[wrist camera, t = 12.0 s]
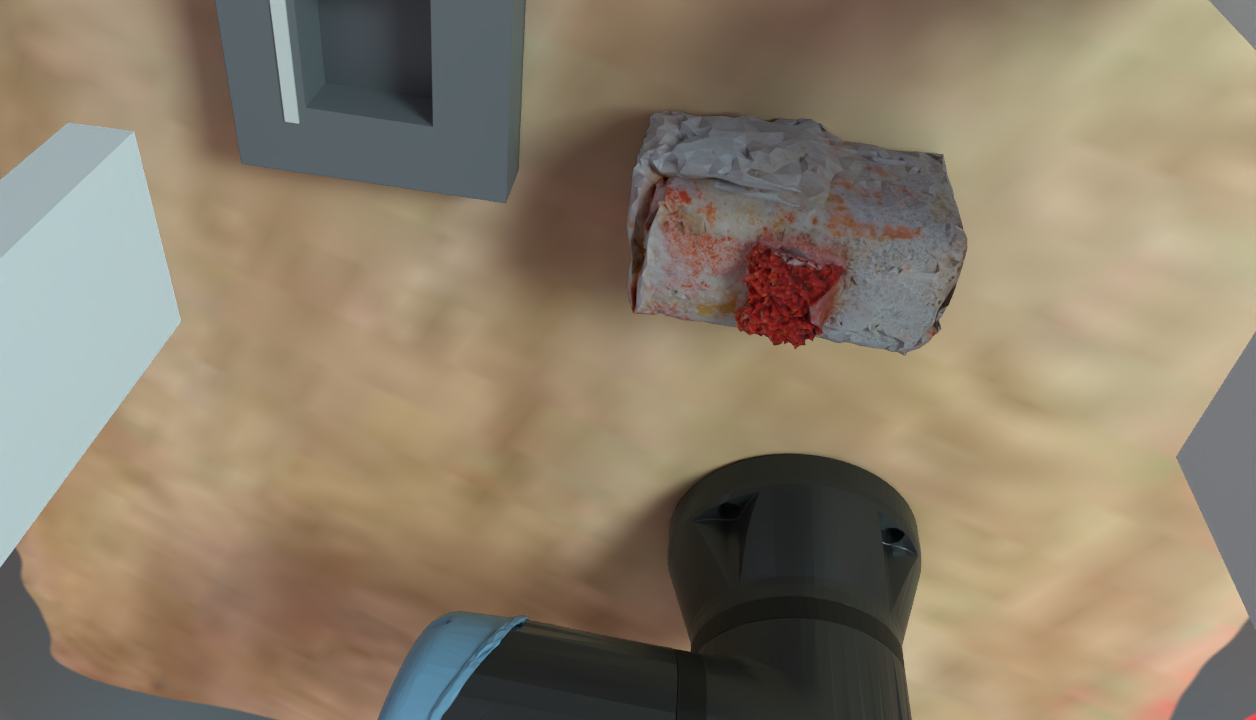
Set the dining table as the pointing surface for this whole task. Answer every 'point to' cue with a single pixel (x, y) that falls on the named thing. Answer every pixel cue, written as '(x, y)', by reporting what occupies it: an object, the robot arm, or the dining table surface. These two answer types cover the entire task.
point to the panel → (379, 90)
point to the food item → (791, 232)
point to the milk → (1240, 16)
